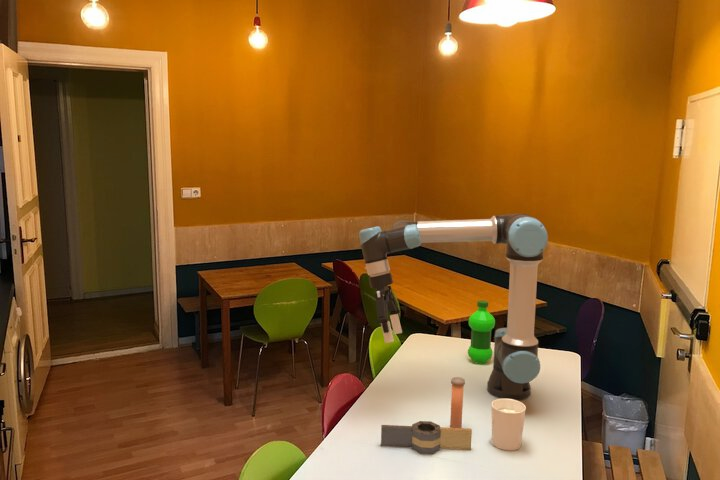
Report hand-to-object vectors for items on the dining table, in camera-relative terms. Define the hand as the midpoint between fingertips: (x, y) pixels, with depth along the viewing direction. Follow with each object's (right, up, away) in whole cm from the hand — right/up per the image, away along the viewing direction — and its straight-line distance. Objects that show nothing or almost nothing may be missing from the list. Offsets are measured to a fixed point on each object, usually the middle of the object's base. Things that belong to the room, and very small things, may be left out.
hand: (394, 337), depth 193 cm
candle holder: (+32, -28, -18) cm, 47 cm away
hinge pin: (+19, -27, -9) cm, 34 cm away
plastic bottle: (+38, -18, +48) cm, 64 cm away
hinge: (+8, -28, -21) cm, 36 cm away
